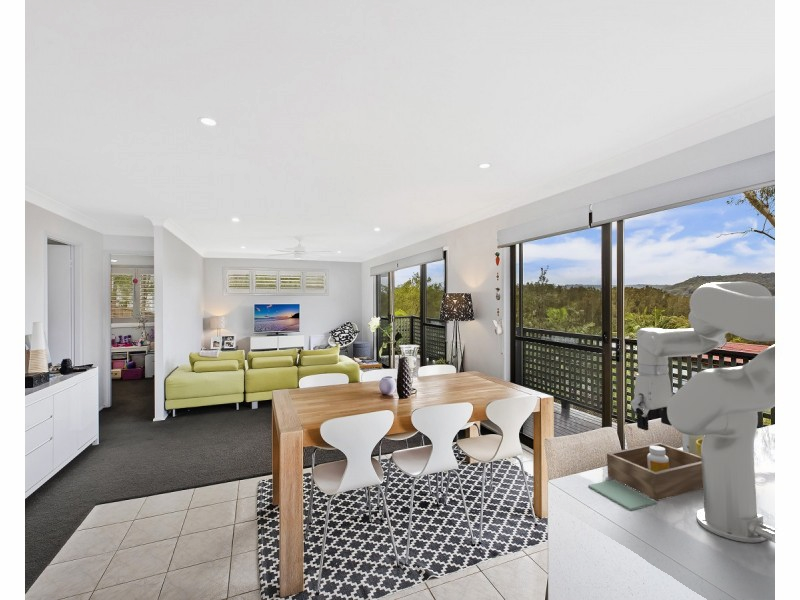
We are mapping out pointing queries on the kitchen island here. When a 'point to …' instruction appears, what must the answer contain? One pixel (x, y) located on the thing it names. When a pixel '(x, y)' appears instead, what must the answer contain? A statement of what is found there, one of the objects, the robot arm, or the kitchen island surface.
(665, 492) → the box
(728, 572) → the kitchen island surface
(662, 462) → the supplement bottle
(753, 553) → the kitchen island surface
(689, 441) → the skincare box
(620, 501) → the mat
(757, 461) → the kitchen island surface
